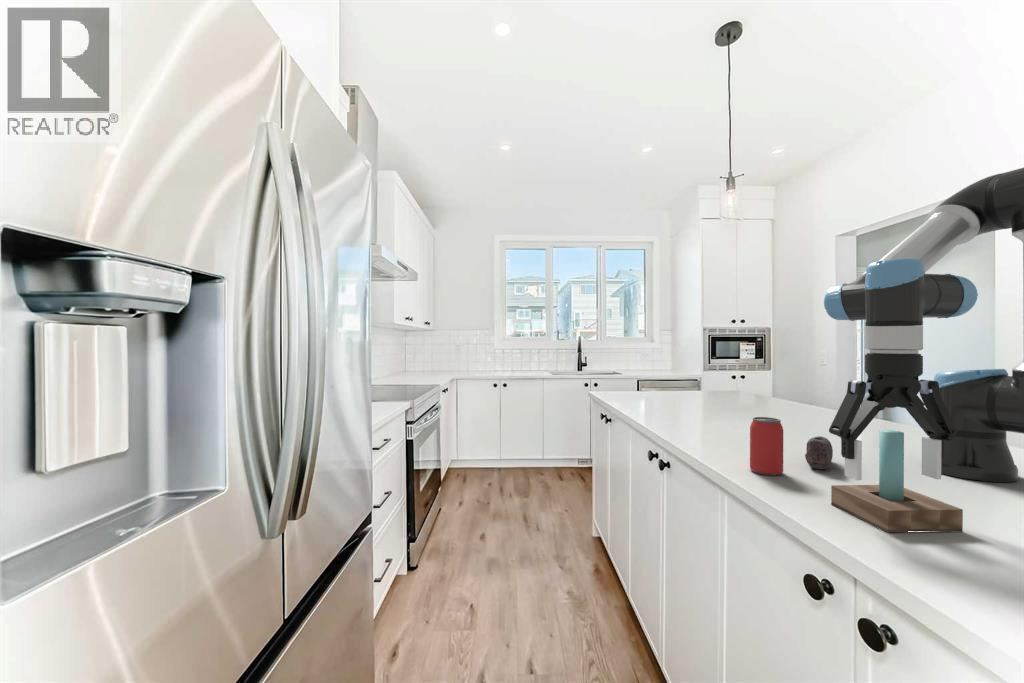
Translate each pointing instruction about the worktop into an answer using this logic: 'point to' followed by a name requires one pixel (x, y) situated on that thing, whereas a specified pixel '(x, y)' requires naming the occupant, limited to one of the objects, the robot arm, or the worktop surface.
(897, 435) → the pin
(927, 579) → the worktop surface
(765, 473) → the beer can
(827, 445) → the perforated stone tool
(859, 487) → the board
